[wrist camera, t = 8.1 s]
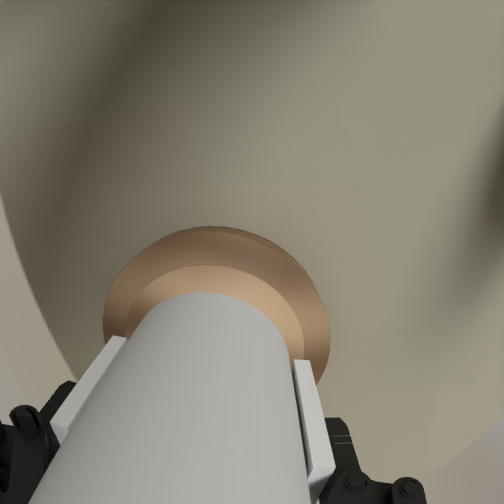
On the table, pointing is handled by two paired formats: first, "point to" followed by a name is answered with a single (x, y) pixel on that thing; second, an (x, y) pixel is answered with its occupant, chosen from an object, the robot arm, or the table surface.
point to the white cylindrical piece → (188, 415)
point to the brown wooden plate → (224, 286)
